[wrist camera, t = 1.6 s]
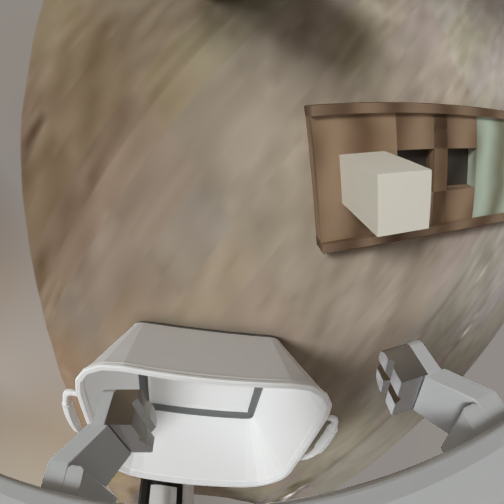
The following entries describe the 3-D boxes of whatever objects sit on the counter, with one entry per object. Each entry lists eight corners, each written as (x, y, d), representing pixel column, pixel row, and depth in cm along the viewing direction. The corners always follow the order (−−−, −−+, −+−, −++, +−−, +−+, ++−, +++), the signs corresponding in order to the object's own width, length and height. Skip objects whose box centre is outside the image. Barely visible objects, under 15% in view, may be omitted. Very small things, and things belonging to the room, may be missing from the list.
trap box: (316, 243, 35) (329, 264, 30) (304, 105, 28) (318, 105, 24) (502, 212, 35) (524, 225, 31) (507, 111, 28) (533, 116, 24)
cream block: (342, 203, 31) (377, 237, 23) (339, 154, 29) (377, 174, 21) (385, 197, 31) (428, 228, 23) (384, 151, 29) (431, 169, 21)
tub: (343, 310, 40) (379, 383, 28) (290, 425, 51) (301, 485, 39) (77, 277, 35) (32, 346, 23) (101, 406, 46) (85, 466, 34)
